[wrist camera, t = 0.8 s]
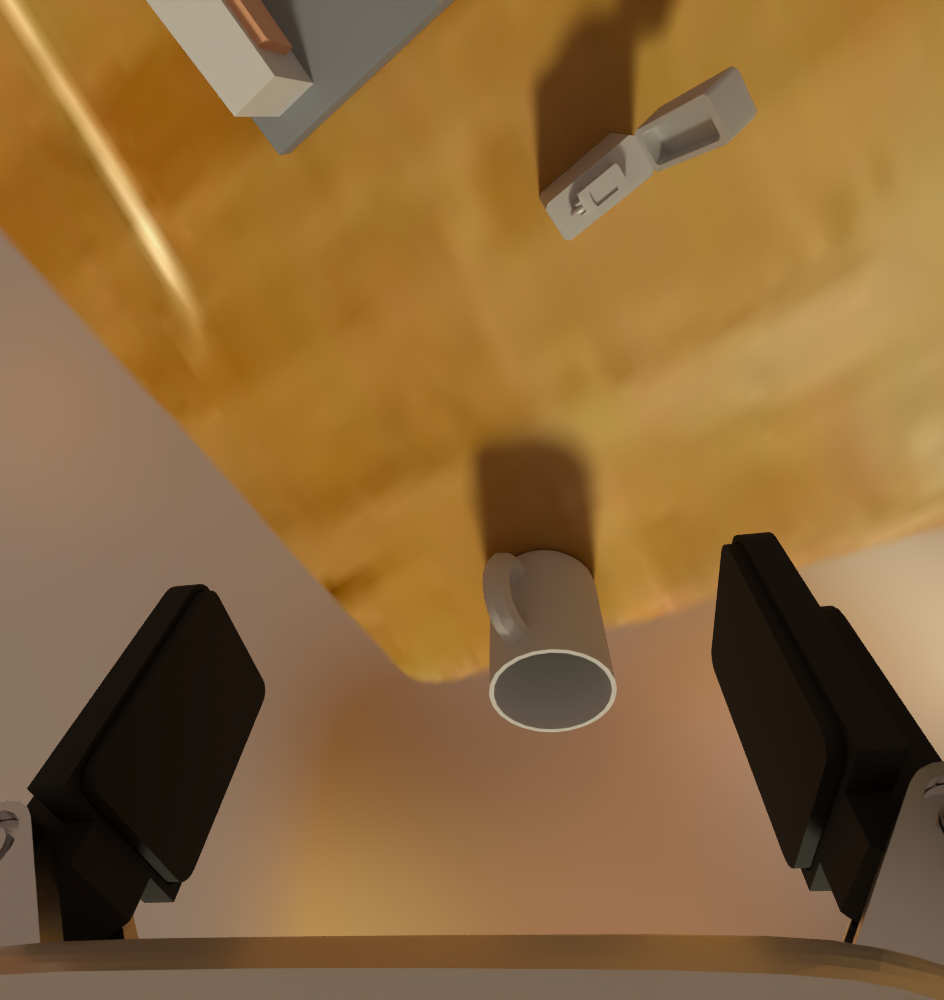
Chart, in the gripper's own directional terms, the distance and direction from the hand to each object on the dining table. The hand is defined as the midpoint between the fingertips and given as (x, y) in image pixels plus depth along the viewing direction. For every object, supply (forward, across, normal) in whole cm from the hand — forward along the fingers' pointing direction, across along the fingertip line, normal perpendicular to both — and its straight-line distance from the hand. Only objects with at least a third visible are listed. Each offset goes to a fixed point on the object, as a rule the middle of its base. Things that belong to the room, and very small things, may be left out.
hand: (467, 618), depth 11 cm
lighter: (+23, -6, -5) cm, 25 cm away
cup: (+23, 0, +19) cm, 30 cm away
